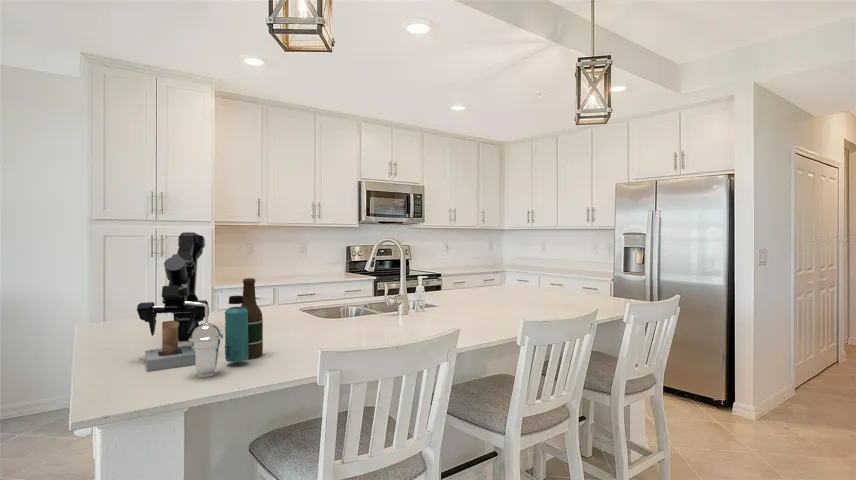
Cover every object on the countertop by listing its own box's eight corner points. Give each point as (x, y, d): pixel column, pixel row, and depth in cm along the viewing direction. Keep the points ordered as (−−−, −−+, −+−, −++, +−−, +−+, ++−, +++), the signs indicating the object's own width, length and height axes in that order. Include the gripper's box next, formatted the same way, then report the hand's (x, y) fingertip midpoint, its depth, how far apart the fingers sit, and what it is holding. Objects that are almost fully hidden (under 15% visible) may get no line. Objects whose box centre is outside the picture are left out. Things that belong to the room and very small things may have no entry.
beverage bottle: (253, 362, 136) (253, 294, 135) (237, 368, 130) (237, 297, 129) (236, 360, 138) (235, 293, 138) (219, 366, 132) (218, 296, 131)
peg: (174, 360, 138) (173, 320, 138) (180, 362, 136) (180, 321, 135) (160, 363, 135) (159, 322, 134) (166, 365, 132) (166, 324, 132)
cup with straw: (210, 380, 120) (210, 303, 119) (179, 378, 121) (178, 302, 121) (230, 370, 128) (229, 298, 128) (200, 368, 130) (200, 297, 129)
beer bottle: (268, 354, 144) (267, 278, 144) (249, 360, 137) (248, 280, 137) (249, 351, 148) (249, 276, 147) (230, 357, 141) (229, 279, 140)
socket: (190, 354, 143) (190, 345, 143) (195, 364, 133) (195, 354, 133) (145, 360, 137) (145, 350, 137) (147, 371, 127) (147, 360, 127)
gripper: (138, 275, 136) (126, 320, 126) (207, 274, 142) (201, 316, 132) (145, 298, 144) (135, 341, 134) (211, 295, 150) (206, 337, 140)
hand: (170, 334), depth 135 cm, fingers open, 9 cm apart
